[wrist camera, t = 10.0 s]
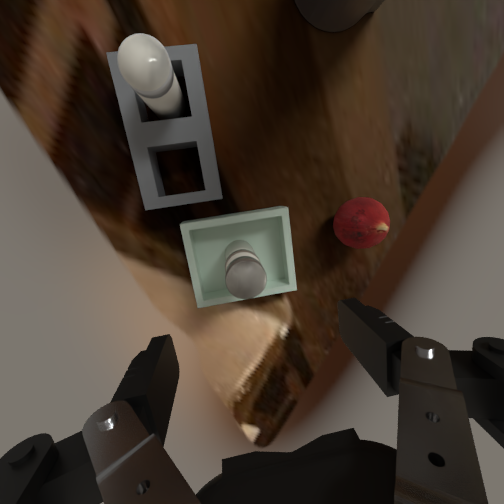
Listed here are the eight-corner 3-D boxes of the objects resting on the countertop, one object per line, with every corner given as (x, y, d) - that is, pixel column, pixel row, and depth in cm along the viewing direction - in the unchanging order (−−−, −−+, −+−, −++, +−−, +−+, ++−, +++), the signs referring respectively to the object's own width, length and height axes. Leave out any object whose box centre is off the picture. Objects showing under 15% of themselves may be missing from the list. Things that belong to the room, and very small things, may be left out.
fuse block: (199, 62, 27) (196, 43, 23) (222, 197, 30) (222, 198, 27) (121, 70, 26) (106, 52, 23) (153, 208, 29) (145, 210, 26)
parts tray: (281, 205, 31) (288, 207, 28) (290, 281, 34) (296, 289, 31) (183, 221, 30) (179, 224, 27) (199, 297, 33) (197, 308, 30)
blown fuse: (252, 236, 31) (263, 256, 22) (256, 265, 32) (269, 295, 23) (221, 242, 31) (222, 264, 22) (227, 270, 32) (229, 302, 23)
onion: (330, 248, 33) (363, 266, 26) (317, 207, 32) (348, 212, 24) (371, 231, 33) (416, 243, 26) (359, 189, 32) (404, 189, 24)
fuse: (182, 82, 27) (164, 31, 18) (189, 120, 28) (175, 89, 19) (146, 86, 27) (110, 36, 18) (154, 124, 27) (125, 94, 19)
